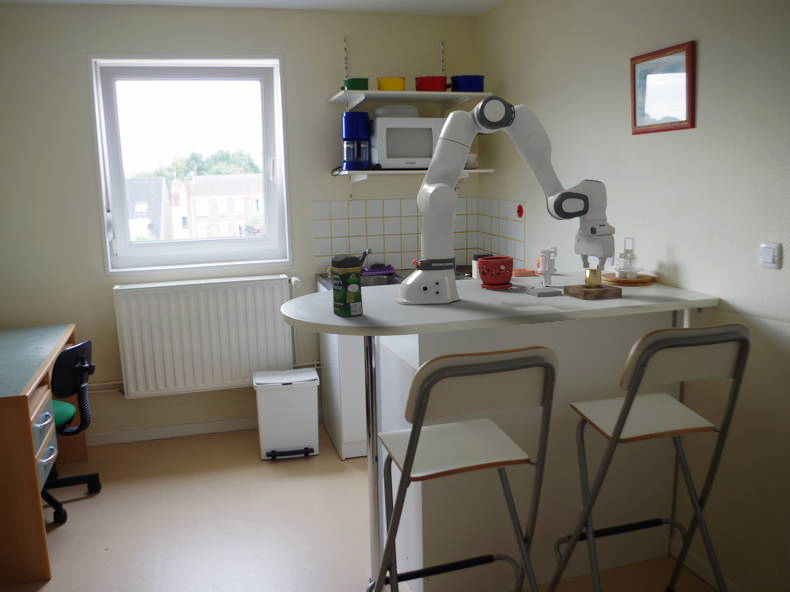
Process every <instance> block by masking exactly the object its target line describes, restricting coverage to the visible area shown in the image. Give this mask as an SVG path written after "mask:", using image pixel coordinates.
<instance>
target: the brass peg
mask: <svg viewBox="0 0 790 592" xmlns="http://www.w3.org/2000/svg"><path fill="white" fill-rule="evenodd" d="M584 269H585V276H584V278H585V280H584V281H585V288H587V289H593V288H601V284H602V271H598V270H597V268H584Z"/></svg>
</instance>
